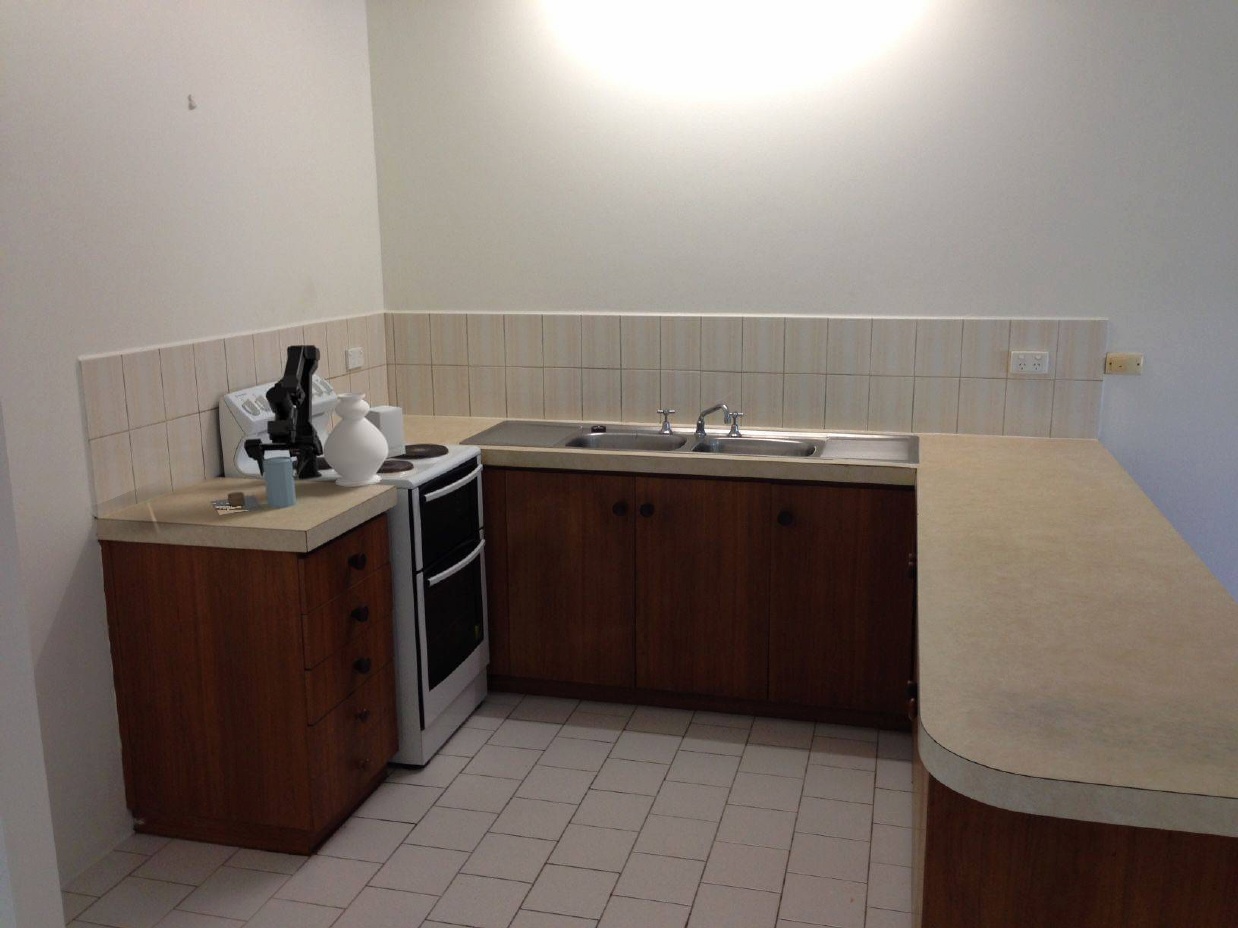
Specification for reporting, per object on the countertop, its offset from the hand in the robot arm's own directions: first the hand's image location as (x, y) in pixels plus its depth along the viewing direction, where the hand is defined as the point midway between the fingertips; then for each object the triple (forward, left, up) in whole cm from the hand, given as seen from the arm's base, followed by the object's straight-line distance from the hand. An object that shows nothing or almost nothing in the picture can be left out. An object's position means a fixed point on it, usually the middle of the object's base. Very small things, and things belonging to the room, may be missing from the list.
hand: (279, 474), depth 284 cm
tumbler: (+1, 0, -8) cm, 8 cm away
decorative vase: (-14, +24, -9) cm, 29 cm away
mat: (-5, -11, -8) cm, 15 cm away
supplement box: (-43, +40, -9) cm, 59 cm away
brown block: (-5, -11, -8) cm, 14 cm away
